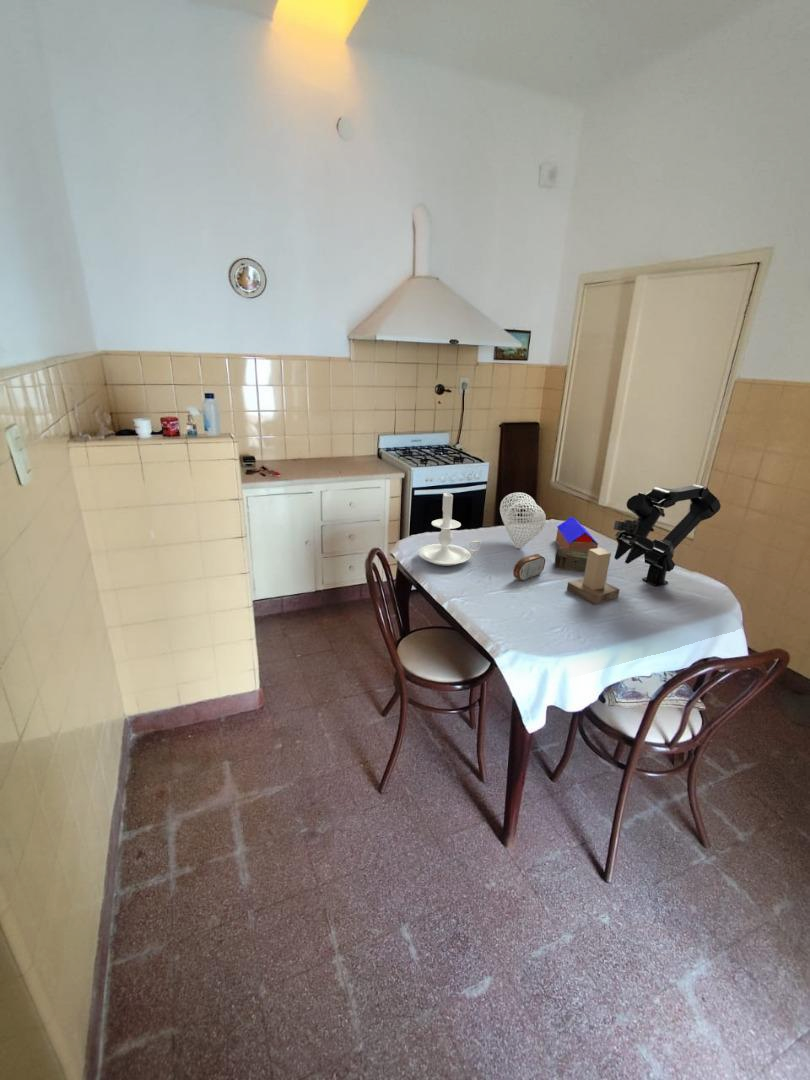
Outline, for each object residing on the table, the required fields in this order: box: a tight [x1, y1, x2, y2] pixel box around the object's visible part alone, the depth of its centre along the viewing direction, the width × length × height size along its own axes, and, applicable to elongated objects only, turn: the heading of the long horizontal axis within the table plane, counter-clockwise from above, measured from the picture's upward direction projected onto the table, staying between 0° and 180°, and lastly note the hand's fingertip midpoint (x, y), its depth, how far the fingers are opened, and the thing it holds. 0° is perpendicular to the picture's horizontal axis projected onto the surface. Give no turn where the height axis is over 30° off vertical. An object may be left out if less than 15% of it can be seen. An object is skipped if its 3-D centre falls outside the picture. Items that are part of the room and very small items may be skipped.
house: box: [555, 516, 599, 552], centre depth 207 cm, size 12×20×12 cm, turn 177°
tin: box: [512, 553, 546, 582], centre depth 181 cm, size 15×3×8 cm, turn 126°
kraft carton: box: [583, 547, 612, 590], centre depth 168 cm, size 5×5×13 cm
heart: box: [499, 492, 547, 549], centre depth 205 cm, size 28×16×22 cm, turn 0°
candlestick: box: [417, 492, 483, 567], centre depth 190 cm, size 21×25×28 cm
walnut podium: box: [566, 577, 620, 606], centre depth 171 cm, size 12×12×3 cm
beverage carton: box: [554, 547, 588, 573], centre depth 190 cm, size 8×19×7 cm, turn 76°
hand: (620, 561), depth 170 cm, fingers open, 9 cm apart
